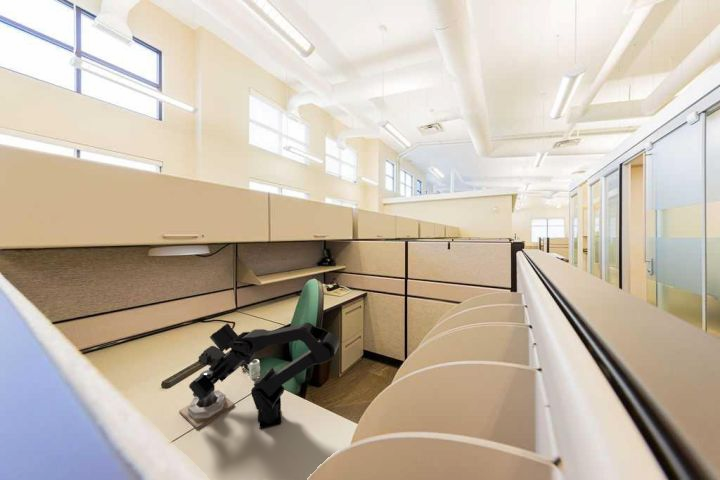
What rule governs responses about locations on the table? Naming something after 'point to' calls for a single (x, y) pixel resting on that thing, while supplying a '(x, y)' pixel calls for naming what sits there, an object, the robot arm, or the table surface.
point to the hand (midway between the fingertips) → (203, 387)
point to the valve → (253, 368)
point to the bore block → (206, 410)
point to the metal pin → (210, 398)
